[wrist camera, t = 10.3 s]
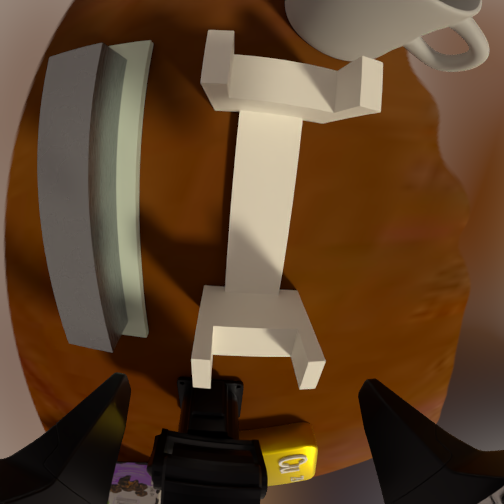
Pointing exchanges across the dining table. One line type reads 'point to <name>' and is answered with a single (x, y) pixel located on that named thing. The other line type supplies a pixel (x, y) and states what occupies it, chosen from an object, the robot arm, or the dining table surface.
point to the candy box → (133, 485)
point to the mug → (389, 28)
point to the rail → (82, 192)
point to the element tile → (286, 451)
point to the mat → (131, 181)
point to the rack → (268, 199)
